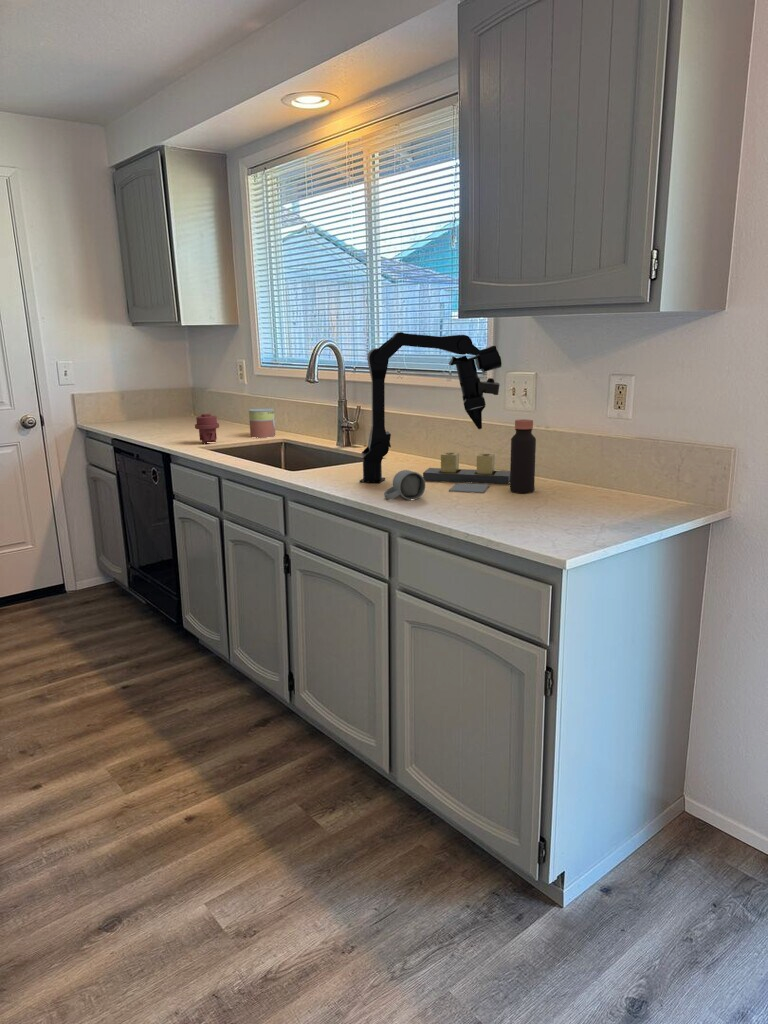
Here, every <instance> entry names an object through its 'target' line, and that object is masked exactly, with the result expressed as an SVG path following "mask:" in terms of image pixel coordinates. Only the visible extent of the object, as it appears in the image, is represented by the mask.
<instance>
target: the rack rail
mask: <svg viewBox="0 0 768 1024" xmlns="http://www.w3.org/2000/svg"><path fill="white" fill-rule="evenodd" d="M422 477H423V478H424V480H426V481H425V482H441V481H449V482H448V483H463V482H470V483H469V484H485V483H494V484H493V485H507V484H508V483H509V482H510V470H495V469H494V475H483V474H477V469H471V468H470V469H466V468H459V473H441V467H439V468H438V467H429V468H427V469H426V470H424V471H423V472H422ZM471 482H472V483H471ZM509 484H510V483H509ZM509 484H508V485H509Z"/></svg>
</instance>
